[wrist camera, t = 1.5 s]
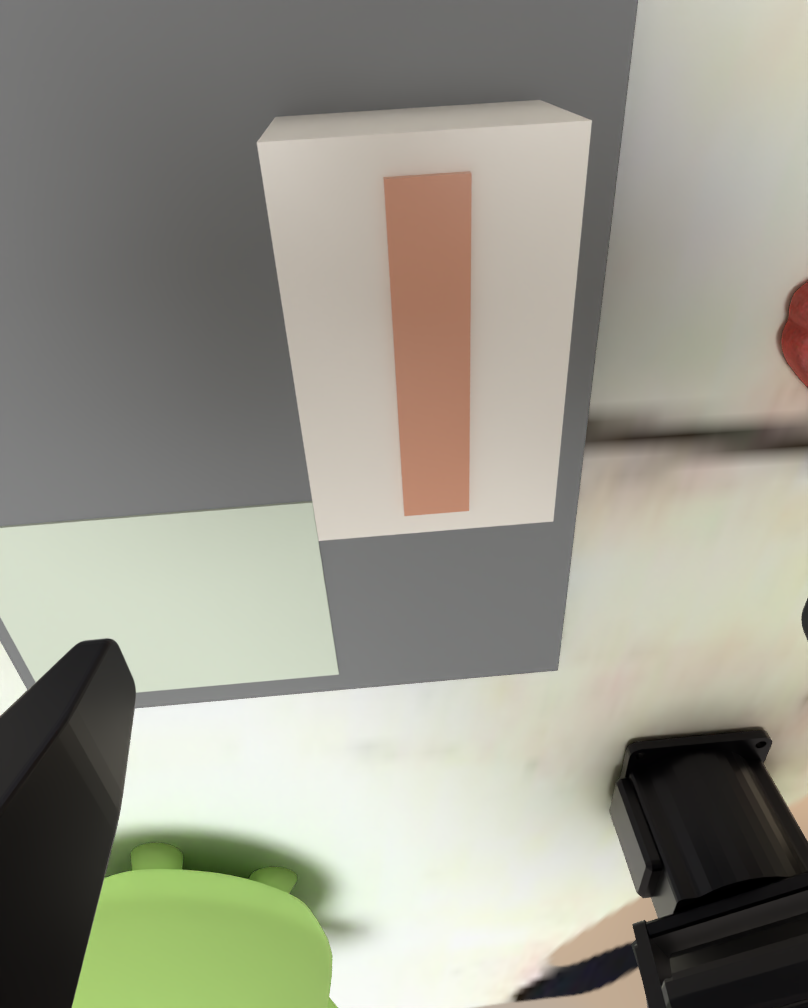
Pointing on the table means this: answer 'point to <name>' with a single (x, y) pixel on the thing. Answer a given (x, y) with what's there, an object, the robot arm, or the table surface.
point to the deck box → (428, 307)
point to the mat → (245, 344)
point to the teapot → (202, 940)
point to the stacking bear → (797, 334)
